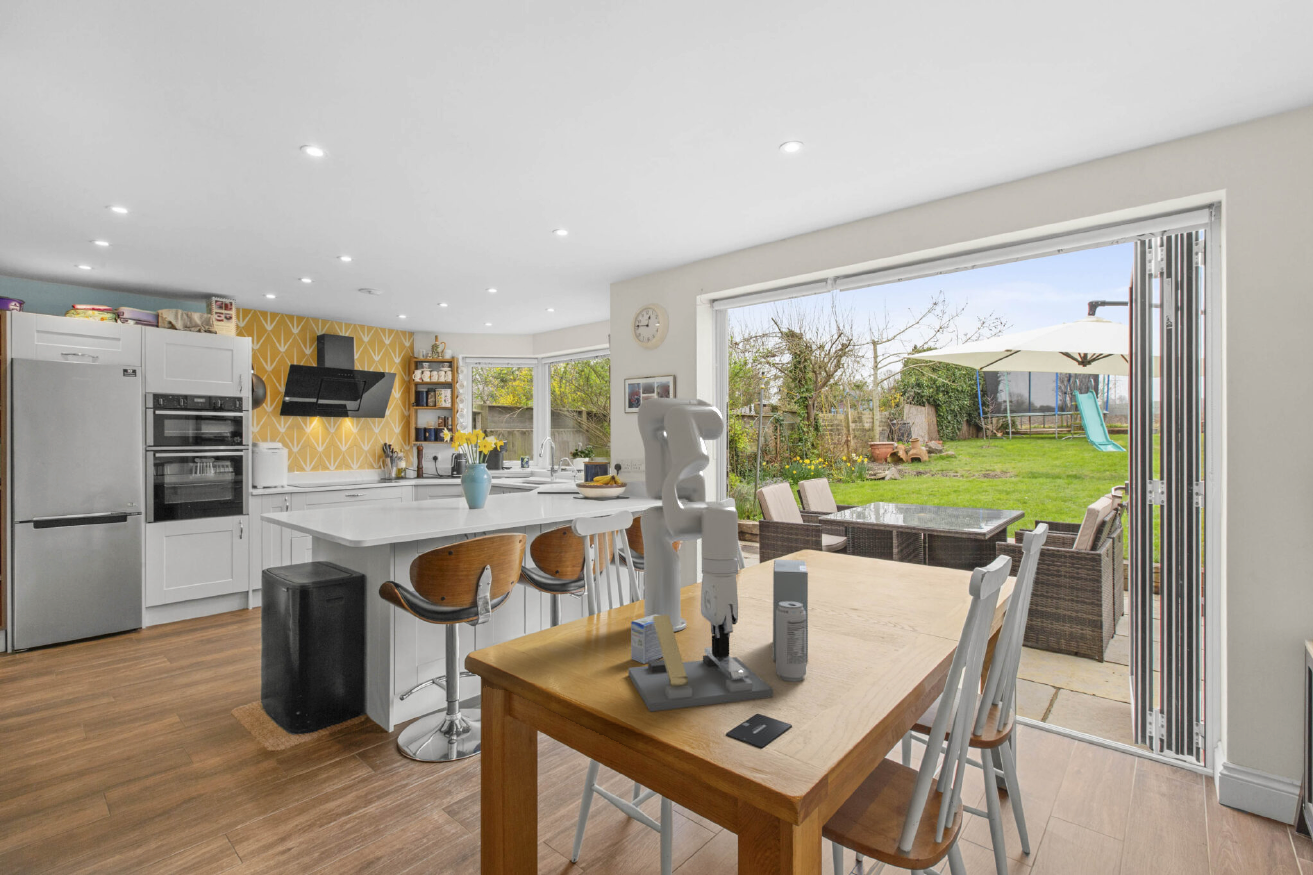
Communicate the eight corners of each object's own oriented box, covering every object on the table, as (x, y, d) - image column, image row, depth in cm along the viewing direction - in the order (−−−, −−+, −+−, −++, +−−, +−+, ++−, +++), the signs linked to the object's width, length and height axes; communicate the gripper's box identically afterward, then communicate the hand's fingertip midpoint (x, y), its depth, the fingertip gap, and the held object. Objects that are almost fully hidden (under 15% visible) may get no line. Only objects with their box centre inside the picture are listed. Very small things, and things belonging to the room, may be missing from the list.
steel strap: (748, 679, 116) (748, 671, 116) (732, 681, 115) (732, 673, 115) (718, 652, 131) (718, 644, 132) (704, 653, 131) (704, 646, 131)
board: (628, 675, 127) (628, 661, 127) (736, 663, 134) (736, 650, 134) (650, 711, 110) (650, 695, 110) (772, 696, 116) (772, 681, 116)
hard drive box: (808, 664, 133) (808, 572, 133) (772, 662, 134) (772, 571, 135) (805, 642, 148) (805, 559, 148) (773, 640, 150) (773, 558, 150)
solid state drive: (725, 737, 101) (725, 733, 101) (757, 716, 109) (757, 713, 109) (761, 751, 96) (761, 746, 96) (792, 728, 104) (792, 724, 104)
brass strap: (687, 687, 114) (688, 681, 113) (670, 688, 113) (672, 683, 112) (667, 618, 126) (668, 613, 125) (652, 620, 125) (653, 614, 125)
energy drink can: (795, 669, 130) (795, 599, 130) (812, 680, 124) (811, 605, 124) (770, 673, 128) (770, 601, 128) (786, 684, 122) (786, 608, 122)
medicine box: (655, 651, 142) (655, 613, 142) (669, 655, 139) (669, 617, 139) (630, 659, 137) (630, 620, 137) (644, 664, 133) (644, 624, 134)
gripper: (691, 560, 133) (691, 645, 132) (715, 574, 118) (716, 669, 118) (723, 558, 135) (724, 642, 134) (751, 571, 120) (752, 666, 120)
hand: (720, 655), depth 126 cm, fingers closed
